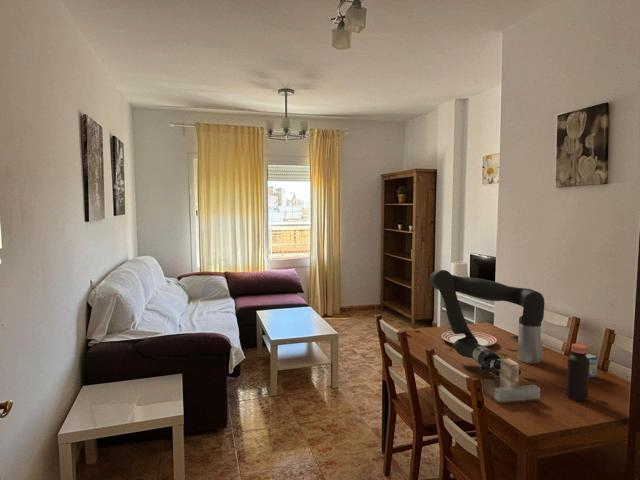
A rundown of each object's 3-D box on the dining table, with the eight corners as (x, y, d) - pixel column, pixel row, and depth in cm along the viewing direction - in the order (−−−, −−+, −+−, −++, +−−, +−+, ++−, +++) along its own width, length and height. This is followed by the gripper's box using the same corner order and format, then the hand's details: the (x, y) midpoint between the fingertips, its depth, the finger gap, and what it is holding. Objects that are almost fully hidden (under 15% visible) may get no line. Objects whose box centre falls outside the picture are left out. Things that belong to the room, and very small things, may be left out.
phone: (525, 345, 210) (509, 336, 225) (525, 347, 210) (509, 338, 225) (540, 344, 211) (522, 335, 226) (539, 347, 211) (522, 337, 226)
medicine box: (582, 379, 170) (583, 358, 169) (573, 375, 174) (573, 355, 173) (597, 377, 172) (598, 357, 171) (587, 373, 176) (588, 353, 176)
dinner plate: (430, 338, 224) (431, 332, 224) (469, 332, 235) (469, 327, 234) (467, 355, 199) (467, 348, 198) (508, 347, 209) (508, 341, 209)
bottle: (578, 393, 156) (580, 342, 155) (592, 401, 150) (595, 348, 148) (562, 394, 155) (564, 343, 154) (575, 402, 149) (578, 349, 147)
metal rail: (534, 395, 152) (534, 384, 152) (539, 398, 149) (540, 388, 149) (494, 398, 150) (494, 387, 150) (499, 401, 147) (499, 391, 147)
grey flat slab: (508, 380, 168) (508, 377, 168) (537, 400, 150) (537, 397, 150) (472, 382, 166) (472, 380, 166) (497, 403, 148) (497, 400, 148)
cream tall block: (508, 388, 158) (509, 358, 157) (517, 395, 152) (519, 364, 151) (499, 389, 157) (500, 359, 156) (509, 396, 151) (510, 364, 150)
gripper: (470, 350, 169) (492, 364, 153) (501, 348, 171) (526, 362, 155) (469, 367, 170) (491, 384, 154) (501, 365, 172) (526, 381, 156)
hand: (509, 373), depth 155 cm, fingers open, 8 cm apart
